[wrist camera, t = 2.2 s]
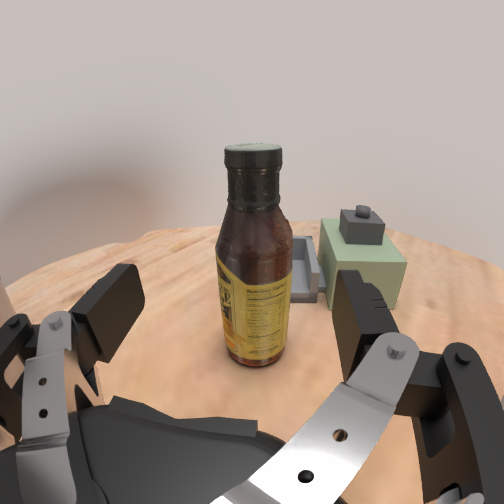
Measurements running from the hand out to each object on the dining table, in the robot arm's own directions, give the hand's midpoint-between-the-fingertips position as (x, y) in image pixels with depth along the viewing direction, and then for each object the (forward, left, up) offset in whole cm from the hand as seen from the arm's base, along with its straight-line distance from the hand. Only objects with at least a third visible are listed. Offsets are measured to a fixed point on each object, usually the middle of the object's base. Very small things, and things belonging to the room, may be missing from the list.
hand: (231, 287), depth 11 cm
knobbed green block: (+7, +25, -15) cm, 30 cm away
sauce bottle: (0, +11, -16) cm, 19 cm away
